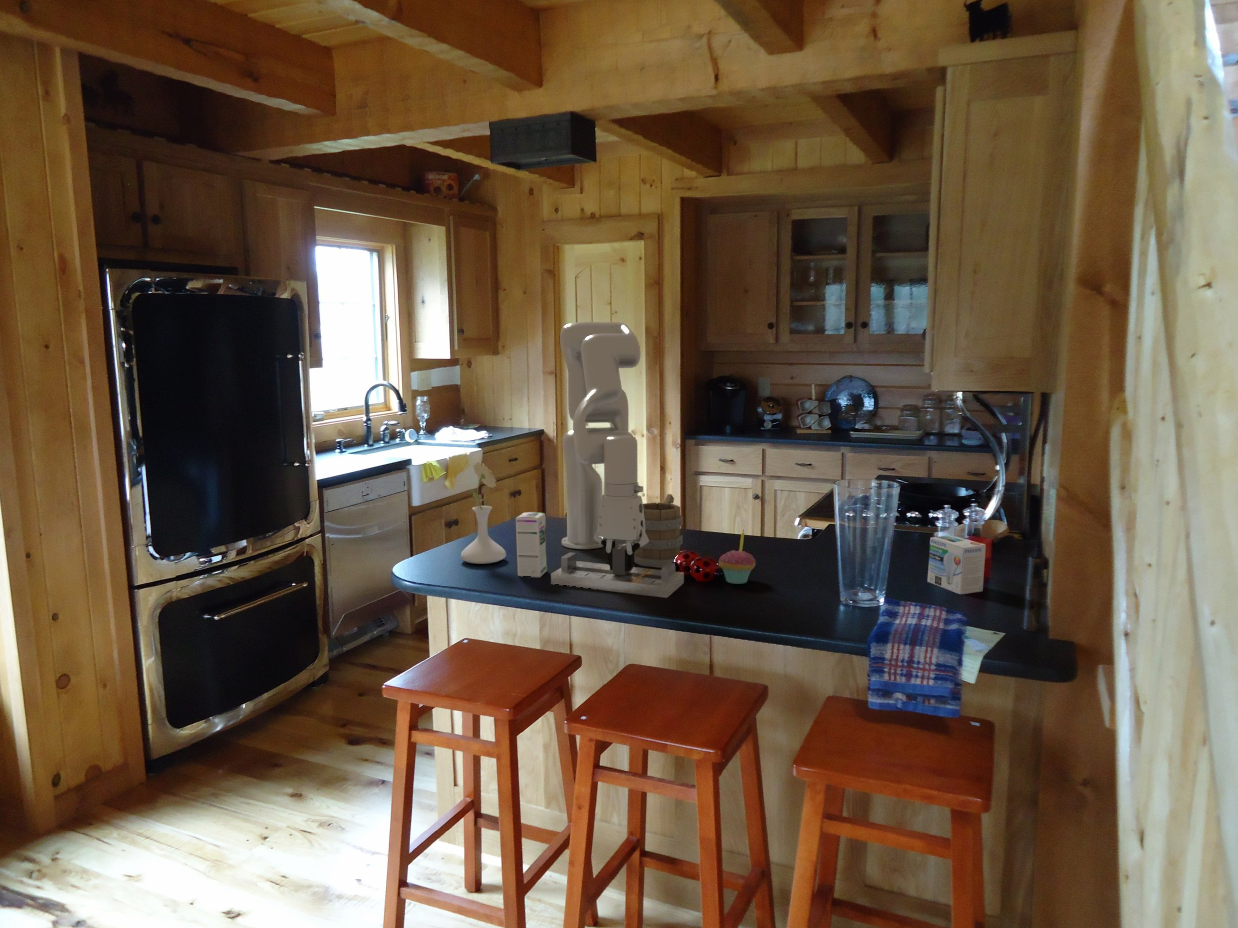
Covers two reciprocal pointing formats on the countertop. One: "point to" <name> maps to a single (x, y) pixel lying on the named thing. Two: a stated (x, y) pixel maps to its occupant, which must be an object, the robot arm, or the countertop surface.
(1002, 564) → the countertop surface
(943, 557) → the light bulb box
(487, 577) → the countertop surface
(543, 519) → the syrup box
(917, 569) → the countertop surface
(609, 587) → the board
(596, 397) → the robot arm
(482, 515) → the flower in vase
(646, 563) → the tankard
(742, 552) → the cupcake
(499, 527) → the countertop surface
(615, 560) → the fader
